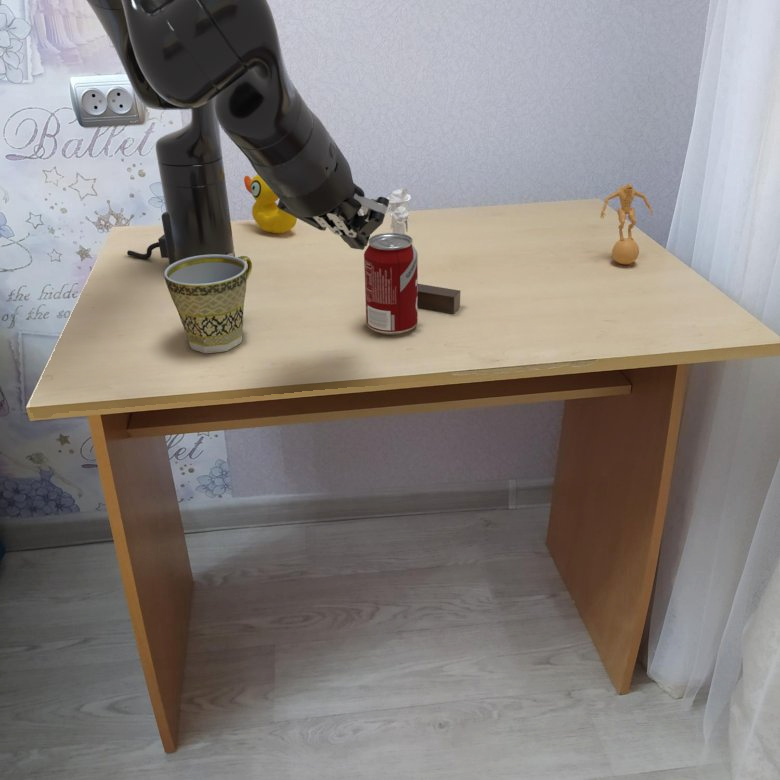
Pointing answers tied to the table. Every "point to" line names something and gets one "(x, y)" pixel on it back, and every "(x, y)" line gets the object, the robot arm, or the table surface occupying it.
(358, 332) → the table surface
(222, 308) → the ceramic cup
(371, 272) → the soda can
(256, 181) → the duckling
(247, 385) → the table surface
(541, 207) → the table surface
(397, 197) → the hat wearing toy figure
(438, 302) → the rail
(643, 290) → the table surface
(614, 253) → the figurine
